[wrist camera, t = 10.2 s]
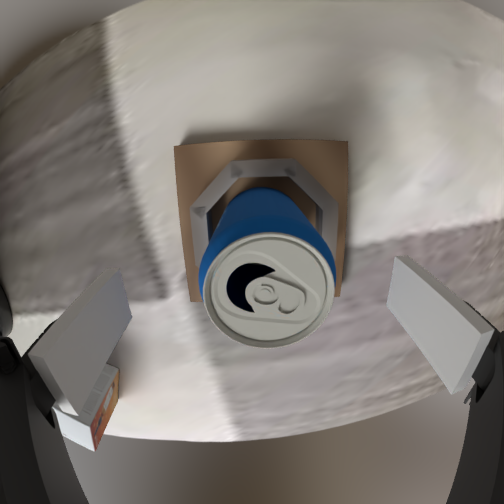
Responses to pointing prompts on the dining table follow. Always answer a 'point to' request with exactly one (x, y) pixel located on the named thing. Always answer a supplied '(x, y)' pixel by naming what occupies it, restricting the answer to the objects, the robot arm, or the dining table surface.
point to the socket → (260, 175)
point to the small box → (92, 411)
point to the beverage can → (266, 272)
